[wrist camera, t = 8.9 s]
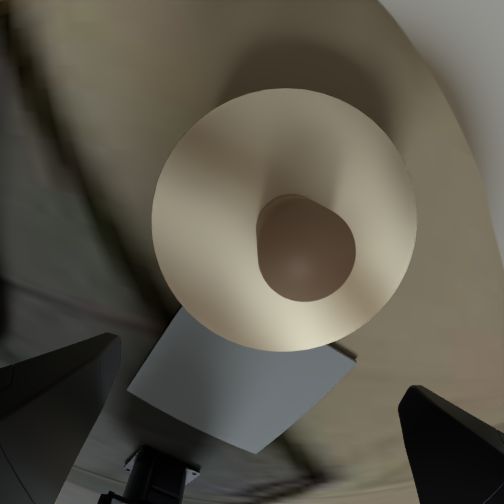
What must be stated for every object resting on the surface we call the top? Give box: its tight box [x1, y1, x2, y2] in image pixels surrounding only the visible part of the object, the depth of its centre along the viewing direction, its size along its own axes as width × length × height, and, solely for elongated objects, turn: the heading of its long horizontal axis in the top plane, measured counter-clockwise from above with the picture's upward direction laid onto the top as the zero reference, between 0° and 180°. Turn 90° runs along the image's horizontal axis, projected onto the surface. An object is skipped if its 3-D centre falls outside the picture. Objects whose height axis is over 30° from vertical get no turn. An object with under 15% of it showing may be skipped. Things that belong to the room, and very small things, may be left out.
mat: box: [127, 306, 357, 454], centre depth 22 cm, size 13×13×1 cm
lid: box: [152, 88, 417, 352], centre depth 12 cm, size 12×12×5 cm
